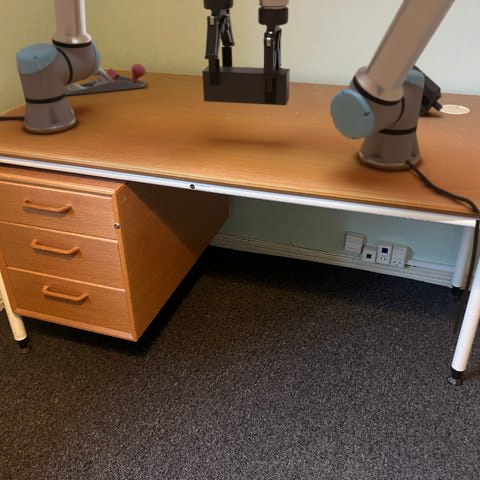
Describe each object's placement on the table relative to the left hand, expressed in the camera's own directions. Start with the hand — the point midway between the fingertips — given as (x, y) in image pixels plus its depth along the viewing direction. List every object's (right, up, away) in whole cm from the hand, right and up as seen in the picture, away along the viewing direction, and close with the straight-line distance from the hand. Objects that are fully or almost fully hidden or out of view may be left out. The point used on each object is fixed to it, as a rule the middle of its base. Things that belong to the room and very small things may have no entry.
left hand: (221, 77), depth 143 cm
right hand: (+14, -6, 0) cm, 15 cm away
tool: (+59, -2, +28) cm, 66 cm away
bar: (+7, -6, +2) cm, 9 cm away
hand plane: (-45, +13, +55) cm, 73 cm away
